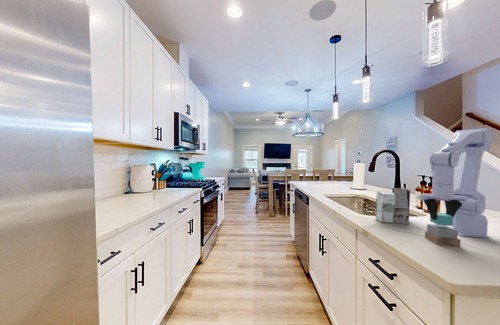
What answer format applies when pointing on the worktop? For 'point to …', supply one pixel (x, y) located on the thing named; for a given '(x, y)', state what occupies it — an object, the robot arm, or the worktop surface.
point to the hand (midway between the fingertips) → (441, 219)
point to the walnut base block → (442, 240)
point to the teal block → (443, 219)
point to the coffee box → (401, 205)
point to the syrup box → (385, 207)
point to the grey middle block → (442, 231)
